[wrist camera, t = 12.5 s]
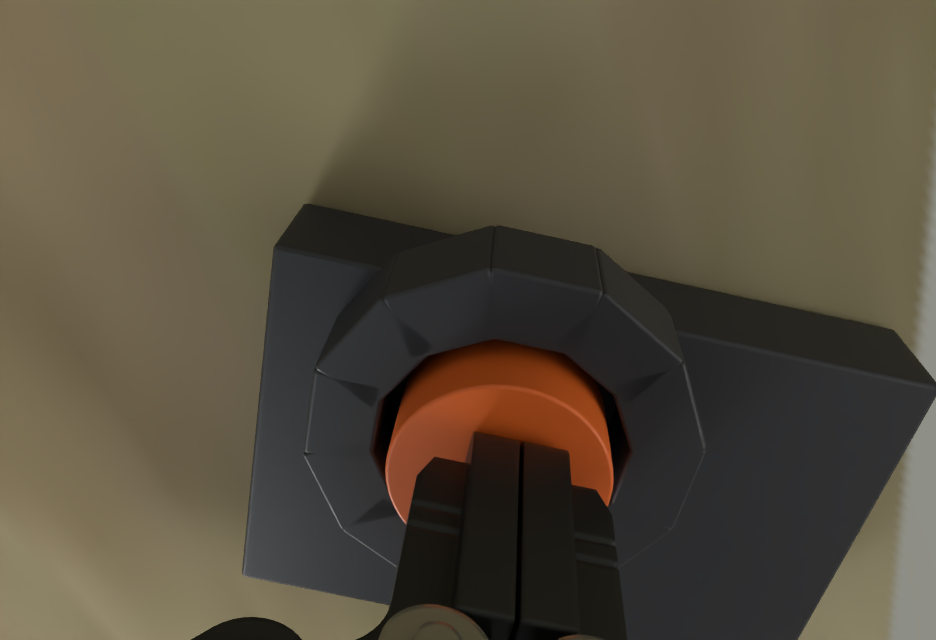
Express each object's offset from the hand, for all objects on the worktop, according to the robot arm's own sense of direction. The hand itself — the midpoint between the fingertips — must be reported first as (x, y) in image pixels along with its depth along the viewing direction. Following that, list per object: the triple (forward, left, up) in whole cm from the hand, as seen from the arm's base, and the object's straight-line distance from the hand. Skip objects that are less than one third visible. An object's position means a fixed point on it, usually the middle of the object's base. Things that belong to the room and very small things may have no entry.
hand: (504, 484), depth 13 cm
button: (0, 0, -2) cm, 2 cm away
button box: (-2, -1, -5) cm, 5 cm away
